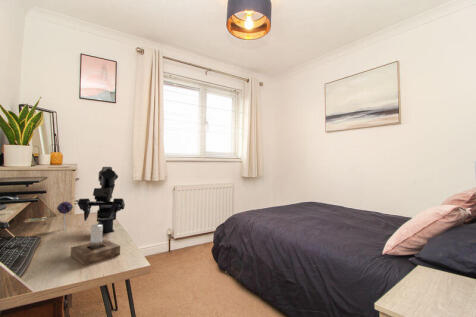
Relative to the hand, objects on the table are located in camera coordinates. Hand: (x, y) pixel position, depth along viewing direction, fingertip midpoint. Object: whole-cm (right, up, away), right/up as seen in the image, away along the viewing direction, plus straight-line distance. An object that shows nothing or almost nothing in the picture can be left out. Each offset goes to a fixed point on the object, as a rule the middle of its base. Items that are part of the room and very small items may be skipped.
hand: (96, 220), depth 101 cm
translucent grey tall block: (+5, -12, -9) cm, 16 cm away
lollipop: (-34, -12, +26) cm, 44 cm away
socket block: (+5, -12, -9) cm, 16 cm away
